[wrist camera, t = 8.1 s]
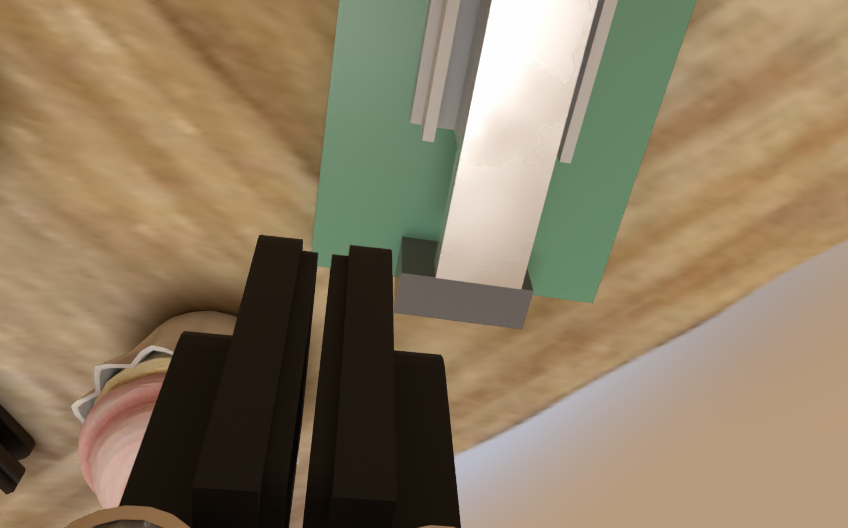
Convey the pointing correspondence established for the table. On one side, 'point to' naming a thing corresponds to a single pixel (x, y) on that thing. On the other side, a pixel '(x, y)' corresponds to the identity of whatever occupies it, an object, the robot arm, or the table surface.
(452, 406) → the table surface
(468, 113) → the grey long bar
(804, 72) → the table surface
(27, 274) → the table surface
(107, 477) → the cupcake
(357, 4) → the board
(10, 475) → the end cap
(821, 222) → the table surface
